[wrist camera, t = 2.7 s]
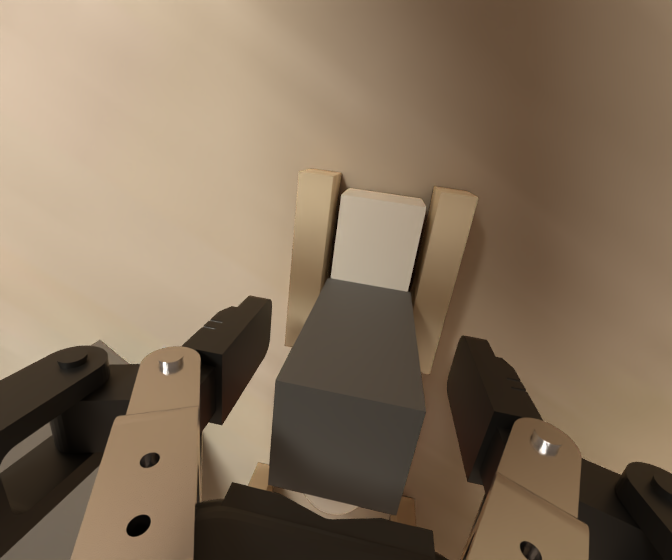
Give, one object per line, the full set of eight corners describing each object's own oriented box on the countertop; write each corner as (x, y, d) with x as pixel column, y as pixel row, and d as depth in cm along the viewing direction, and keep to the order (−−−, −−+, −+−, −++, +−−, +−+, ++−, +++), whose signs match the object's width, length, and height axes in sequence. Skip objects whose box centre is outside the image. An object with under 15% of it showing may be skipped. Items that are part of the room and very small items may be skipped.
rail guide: (311, 168, 13) (298, 171, 12) (466, 190, 13) (478, 197, 11) (296, 323, 16) (284, 346, 14) (425, 347, 15) (429, 374, 14)
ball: (311, 406, 18) (293, 466, 14) (380, 421, 17) (378, 485, 14) (305, 457, 19) (287, 522, 16) (369, 472, 19) (364, 542, 15)
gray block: (329, 184, 13) (246, 228, 6) (442, 201, 13) (512, 272, 5) (305, 392, 17) (236, 583, 10) (392, 410, 17) (392, 626, 9)
